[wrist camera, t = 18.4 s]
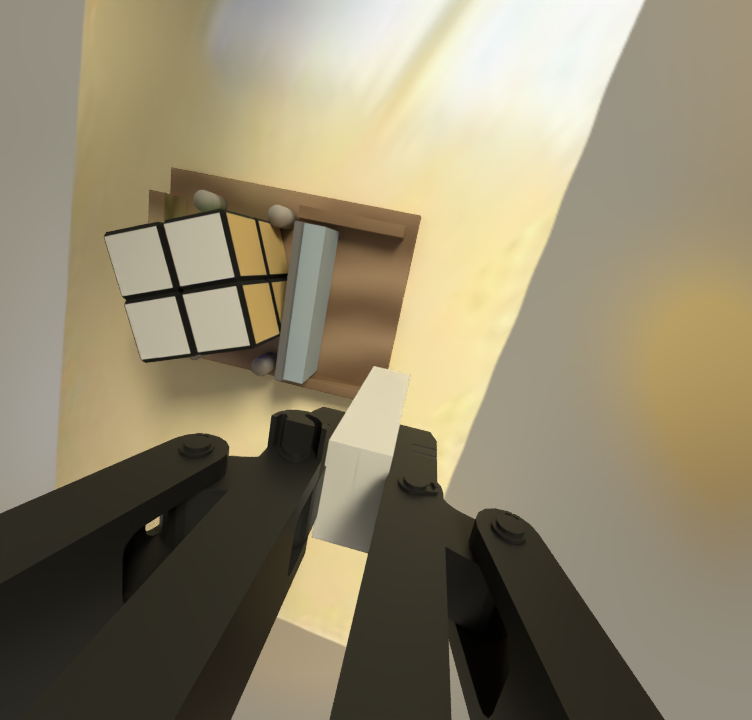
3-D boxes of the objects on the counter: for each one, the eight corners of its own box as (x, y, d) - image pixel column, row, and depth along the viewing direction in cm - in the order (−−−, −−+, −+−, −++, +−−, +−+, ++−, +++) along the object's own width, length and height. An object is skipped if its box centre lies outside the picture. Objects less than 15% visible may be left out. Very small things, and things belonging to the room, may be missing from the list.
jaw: (314, 226, 34) (294, 220, 29) (339, 231, 34) (323, 226, 29) (294, 365, 38) (274, 379, 33) (316, 370, 38) (299, 385, 33)
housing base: (179, 170, 36) (148, 158, 32) (421, 217, 34) (419, 210, 30) (171, 346, 41) (142, 355, 37) (382, 397, 39) (375, 412, 35)
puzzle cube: (211, 340, 39) (138, 364, 29) (186, 241, 37) (98, 232, 27) (301, 327, 37) (255, 349, 27) (280, 222, 35) (221, 206, 25)
